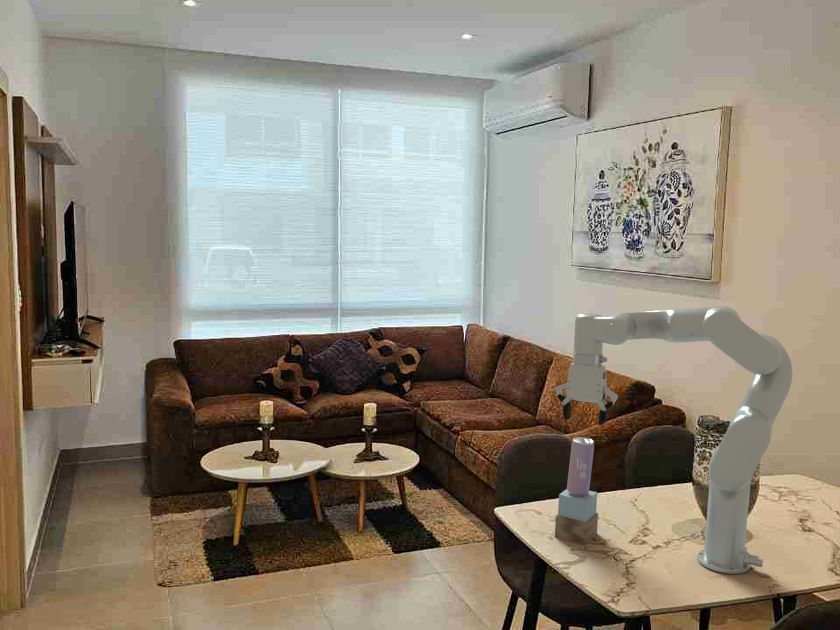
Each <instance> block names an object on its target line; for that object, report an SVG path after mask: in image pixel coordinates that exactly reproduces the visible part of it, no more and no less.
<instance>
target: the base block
mask: <svg viewBox="0 0 840 630" xmlns="http://www.w3.org/2000/svg"><path fill="white" fill-rule="evenodd" d="M598 522H599V512H596V514H595V515H594V516H593V517H591V518H590V519H589V520H588V521H587V522H582V521H578V520H574V519H570V518H566V517H562V516H558V514H556V516H555V525H554V526H555V527H554V537H555V538H558V539H562V540H566V541H569V542H570V541H571V542H575V543H579V544H583V545H585V546H586V545H588V544H589V543H590V542H591V540H592V539H593V538H594V537H595V536H596V535H597V534H598V525H599V523H598Z"/></svg>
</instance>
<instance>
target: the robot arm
mask: <svg viewBox="0 0 840 630" xmlns="http://www.w3.org/2000/svg"><path fill="white" fill-rule="evenodd" d="M573 337H574V338H573V339H574V341H573V359H572V362H570V366H569V370H568V374H567V380H566V383H563V384H560V385H557V386H556V387H554V391H555V393H556V396H557V398H558V400H559V401H560V402H561V404H562V406H563V407H562V415H563V416H564V417H563V419H564V420H565V421H568V420H569V419H571V417H572V416H571V414H572V413H571V412H572V404H571V401H572V400H574V401H578V402H585V403H592V404H597V405H598V406H599V408H600V410H599V412H598V414H599V415H598V426H603V425H604V424H605V423H606V422H607V419H608V416H607V415H608V410H609V409H610V408H611V407H612V406H614V404H615V403H616V401H617V400H618V398H619V395H618V394H617V393H615V392H614V391H612V390H611V389H610V388H608V387H607V372H606V367H605V364H603V363H607V362H608V357H605V356H604V354H603V345H604V344H608V345H612V346H618V345H619V346H620V345H623V344H625V343H626V342H627V341H630V340H632V341H633V340H647V339H649V340H651V339H652V340H653V339H654V340H657V339H658V340H662V341H666V342H668V343H675V344H677V343H678V344H679V343H694V342H710V343H711V344H713V345H714V346H715V347H716V348H717V349H718V350H720V351H721V352H722V353H724V354H725V355H726V356H728V357H729V358H731V359H732V360H733V361H734V362H735V363H737V364H739V365H740V366H741V367H742V368H743V369H745V370H747V371H748V372H750V373H753V374H754V375H753V379H752V380H751V383H750V385H749V386H748V389H747V391H746V394H745V395H744V397H743V399H742V401H741V403H740V405H739V406H738V408H737V410H736V412H735V413H734V414H733V415H732V417H731V419H730V422H729V425H728V428H727V429H726V432H725V434H724V435H723V438H722V439H721V442H720V443H719V445H718V446H716V447H715V449H714V450H713V452H712V454H711V457H710V461H709V464H708V475H709V488H708V497H707V498H708V500H707V501H708V502H707V509H706V511H707V513H706V521H705V522H706V523H705V524H706V525H705V537H704V549H702V550H699V551H698V553H697V558H696V559H697V561H698V562H699V564H701V565H702V566H703V567H705V568H707V569H709V570H711V571H715V572H717V573H718V572H719V573H723V574H730V575H732V574H733V575H738V574H745V573H746V572H748V571H749V570H750V568H751V565H752V566H754V567H757V568H758V567H759V568H763V566H764V565H763V564H764V559H762V558H760V556H759V555H757V554H750V552H748V546H746V539H747V538H746V537H747V524H748V515H749V504H750V492H751V484H752V483H751V482H752V477H753V475H754V473H755V471H756V469H758V466H759V464H760V462H761V460H762V458H763V457H764V455H765V453H766V451H767V449H768V447H769V444H770V443H771V438H772V433H773V432H772V431H773V426H774V423H775V422H776V419H777V417H778V415H779V414H780V412H781V409H782V407H783V405H784V403H785V400H786V398H787V396H788V394H789V393H790V389H791V386H792V381H793V366H792V365H793V364H792V360H791V357H790V356H789V353H788V352H787V350H786V348H785V347H784V346H783V344H782V343H781V342H780V341H779V340H778V339H776V338H775V337H774V336H772V335H768V334H766V333H764V334H761V333H758V332H757V331H756V330H754V329H752V328H751V327H750V326H749V325H747V324H746V323H745V322H743V321H742V320H741V316H740V315H739V313H738V312H737V310H735V309H734V308H732V307H730V306H722V305H721V306H706V307H704V306H703V307H694V308H693V307H692V308H679V309H677V308H676V309H675V308H674V309H673V308H672V309H663V310H648V311H647V310H646V311H631V312H619V313H617V314H616V313H615V314H614V315H612V316H602V315H601V314H597V313H587V312H586V313H579V314H577V315H576V317H575V320H574V336H573ZM563 390H565V394H564V393H563ZM607 396H608V397H610V400H609V401H608V402H606V398H607Z"/></svg>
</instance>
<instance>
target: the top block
mask: <svg viewBox="0 0 840 630" xmlns="http://www.w3.org/2000/svg"><path fill="white" fill-rule="evenodd" d="M597 500H598V492H597V491H592V490H589V493H588V494H587V495H586V496H574V495H572V494H570V493H569V492H568V491H567V488H566V489H564V490H563V491H562V492H561V493H559V494H558V507H557V515H558V516H562V517H566V518H570V519H574V520H578V521H582V522H587V521H588V520H589V519H590V518H591V517H593V516H594V515H595V514H596V513H597V506H598V501H597Z"/></svg>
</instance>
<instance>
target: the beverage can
mask: <svg viewBox="0 0 840 630" xmlns="http://www.w3.org/2000/svg"><path fill="white" fill-rule="evenodd" d="M594 443H595V441H594V440H592V438H588V437H581V436H578V437H574V438H573V439H572V442H571V447H570V449H571V450H570V456H569V468H568V475H567V483H566V484H567V485H566V489H567V491H568V492H569V493H570V494H572V495H574V496H586V495H587V494H588V493H589V491H590V487H591V486H590V484H591V476H592V470H593V469H592V468H593V459H594V451H595V444H594Z"/></svg>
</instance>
